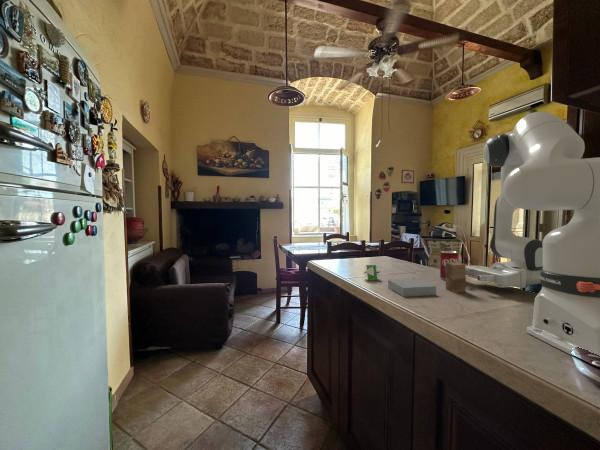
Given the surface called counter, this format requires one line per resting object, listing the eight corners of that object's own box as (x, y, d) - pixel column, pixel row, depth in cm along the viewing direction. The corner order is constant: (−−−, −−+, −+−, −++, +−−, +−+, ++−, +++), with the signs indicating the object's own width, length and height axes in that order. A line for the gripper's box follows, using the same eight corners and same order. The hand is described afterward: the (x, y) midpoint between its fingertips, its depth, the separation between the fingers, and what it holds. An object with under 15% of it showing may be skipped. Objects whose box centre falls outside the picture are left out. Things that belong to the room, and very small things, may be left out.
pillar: (465, 291, 92) (465, 264, 92) (454, 292, 91) (453, 264, 91) (457, 288, 96) (456, 262, 96) (445, 289, 96) (445, 262, 96)
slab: (436, 294, 89) (436, 286, 89) (403, 296, 88) (403, 287, 88) (417, 286, 101) (417, 278, 101) (388, 287, 100) (388, 280, 100)
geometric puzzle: (361, 272, 119) (363, 260, 114) (376, 272, 119) (379, 260, 114) (364, 284, 114) (366, 272, 109) (380, 284, 113) (382, 272, 108)
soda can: (462, 280, 108) (462, 252, 108) (445, 281, 108) (445, 253, 108) (452, 277, 115) (452, 250, 115) (436, 277, 115) (436, 251, 115)
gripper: (481, 261, 106) (449, 262, 104) (529, 270, 85) (491, 272, 84) (481, 276, 106) (450, 277, 105) (530, 289, 85) (491, 291, 84)
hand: (469, 275), depth 94 cm, fingers open, 8 cm apart
